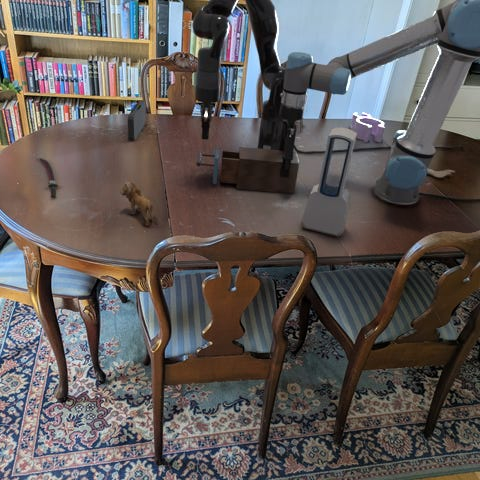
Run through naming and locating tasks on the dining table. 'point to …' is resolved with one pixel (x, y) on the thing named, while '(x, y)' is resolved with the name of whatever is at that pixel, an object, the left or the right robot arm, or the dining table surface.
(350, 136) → the electronic device
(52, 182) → the sword
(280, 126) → the left robot arm
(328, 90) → the right robot arm
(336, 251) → the dining table surface
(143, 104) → the handheld gaming console
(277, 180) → the cabinet
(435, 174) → the jawbone
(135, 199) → the lion figurine
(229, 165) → the drawer
